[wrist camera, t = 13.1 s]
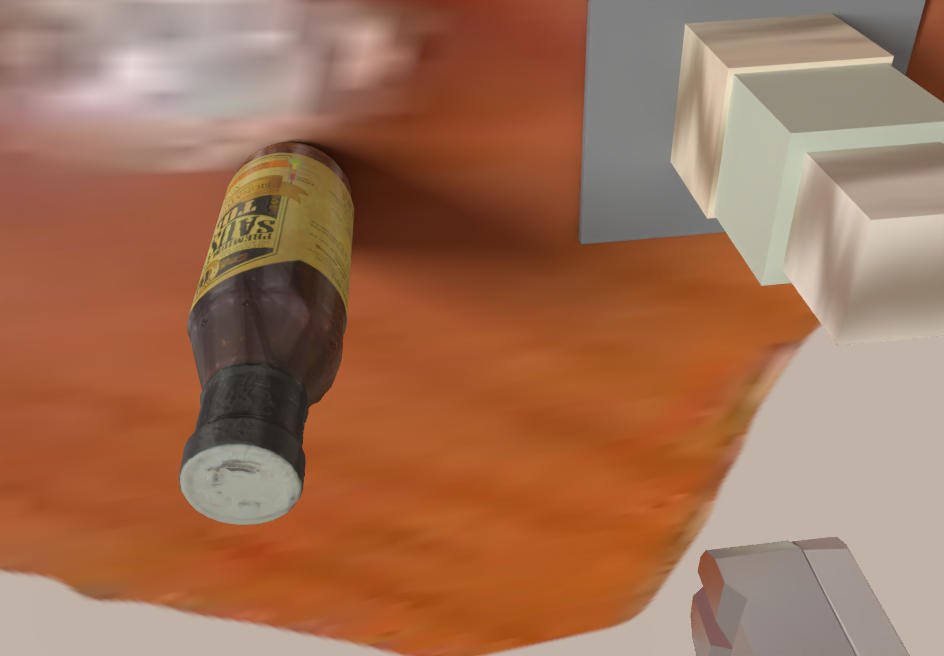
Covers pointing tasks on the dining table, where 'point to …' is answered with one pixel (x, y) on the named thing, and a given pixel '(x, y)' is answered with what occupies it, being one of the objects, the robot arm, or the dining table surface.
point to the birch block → (746, 51)
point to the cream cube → (871, 242)
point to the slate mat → (675, 102)
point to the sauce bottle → (267, 331)
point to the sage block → (805, 143)
